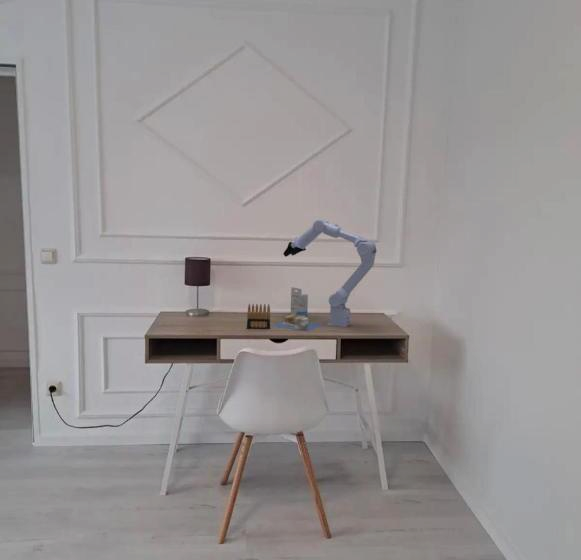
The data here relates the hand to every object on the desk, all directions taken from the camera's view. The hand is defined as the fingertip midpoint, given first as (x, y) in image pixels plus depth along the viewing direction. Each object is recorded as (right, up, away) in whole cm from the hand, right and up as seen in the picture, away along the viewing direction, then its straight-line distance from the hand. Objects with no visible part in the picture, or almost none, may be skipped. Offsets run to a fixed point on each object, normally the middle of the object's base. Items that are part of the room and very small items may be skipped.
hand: (288, 254), depth 259 cm
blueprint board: (+5, -34, -13) cm, 37 cm away
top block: (+6, -35, -20) cm, 41 cm away
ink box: (+6, -31, +11) cm, 34 cm away
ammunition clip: (-13, -35, -21) cm, 44 cm away
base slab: (+4, -33, -8) cm, 34 cm away
